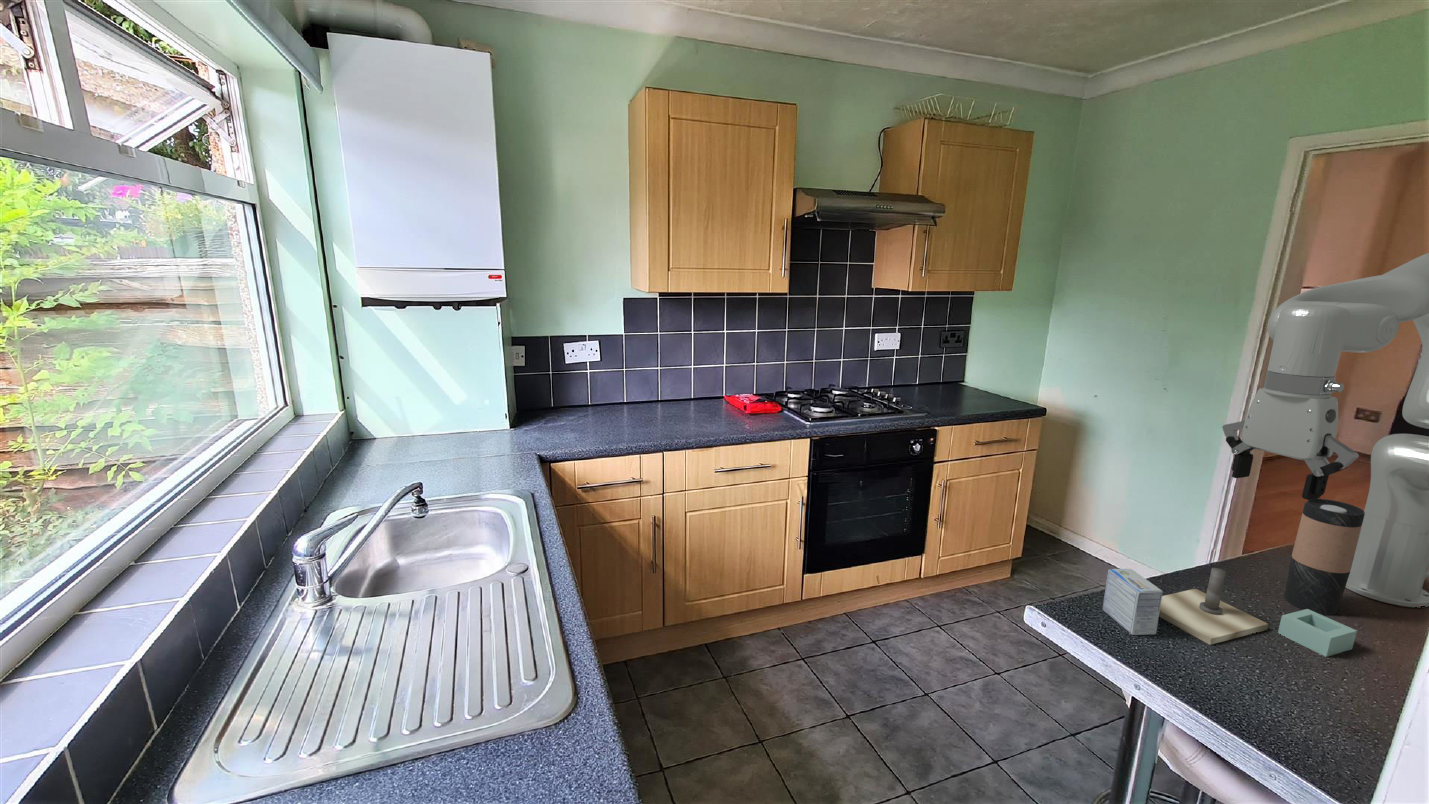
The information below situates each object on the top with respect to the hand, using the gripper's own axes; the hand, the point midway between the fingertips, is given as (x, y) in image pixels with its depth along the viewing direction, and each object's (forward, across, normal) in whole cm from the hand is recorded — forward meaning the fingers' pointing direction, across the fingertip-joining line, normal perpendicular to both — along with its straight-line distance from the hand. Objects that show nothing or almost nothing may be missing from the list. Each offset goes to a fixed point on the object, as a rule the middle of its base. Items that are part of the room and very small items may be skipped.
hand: (1273, 487), depth 94 cm
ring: (+27, -5, -10) cm, 30 cm away
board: (+28, +6, +1) cm, 28 cm away
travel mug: (+28, +3, -23) cm, 36 cm away
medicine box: (+28, +8, +15) cm, 33 cm away
